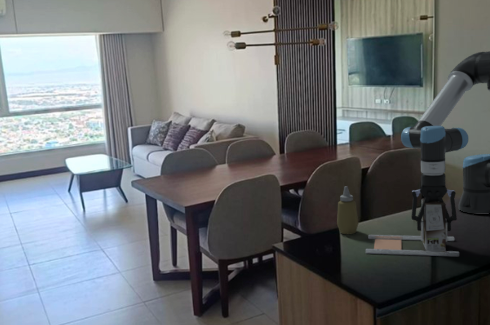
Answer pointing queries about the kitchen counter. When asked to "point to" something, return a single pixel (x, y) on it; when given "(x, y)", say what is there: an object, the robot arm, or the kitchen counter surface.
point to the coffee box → (434, 226)
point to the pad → (387, 244)
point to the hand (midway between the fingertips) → (433, 239)
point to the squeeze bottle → (347, 213)
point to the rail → (408, 252)
